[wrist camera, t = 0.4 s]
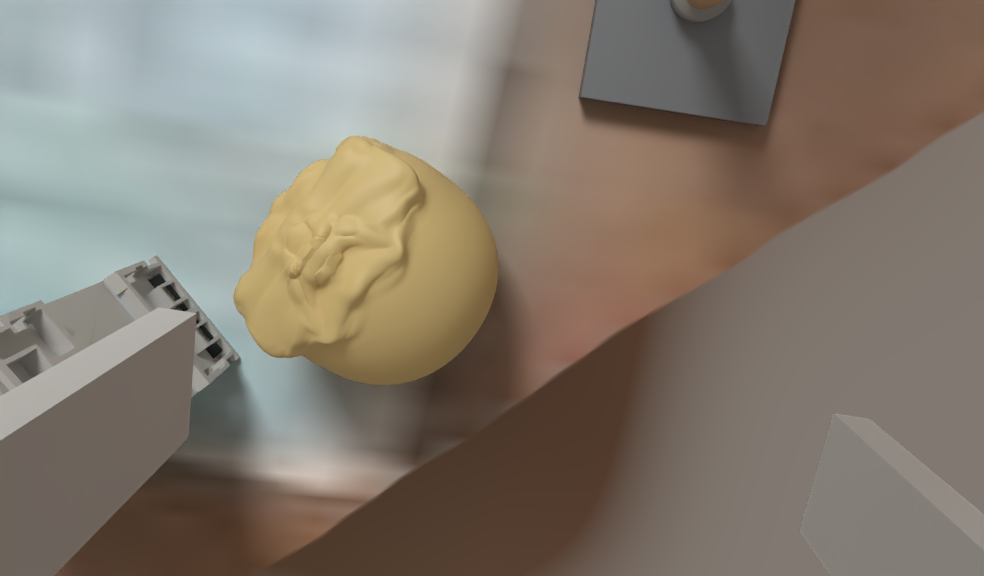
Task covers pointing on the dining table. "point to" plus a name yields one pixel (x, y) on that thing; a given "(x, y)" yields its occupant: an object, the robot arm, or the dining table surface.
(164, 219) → the dining table surface
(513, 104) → the dining table surface
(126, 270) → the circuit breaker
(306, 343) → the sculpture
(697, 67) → the grey plate with rod
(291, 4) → the dining table surface
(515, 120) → the dining table surface
